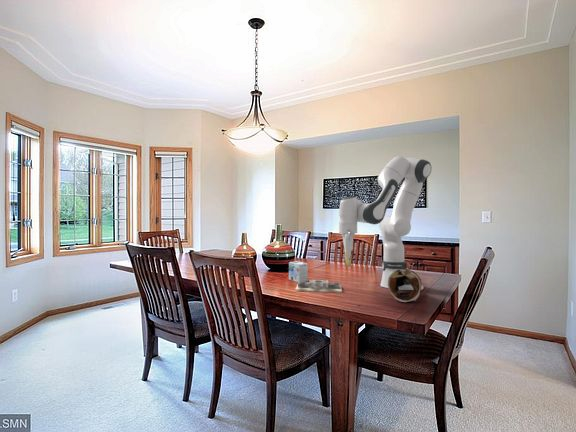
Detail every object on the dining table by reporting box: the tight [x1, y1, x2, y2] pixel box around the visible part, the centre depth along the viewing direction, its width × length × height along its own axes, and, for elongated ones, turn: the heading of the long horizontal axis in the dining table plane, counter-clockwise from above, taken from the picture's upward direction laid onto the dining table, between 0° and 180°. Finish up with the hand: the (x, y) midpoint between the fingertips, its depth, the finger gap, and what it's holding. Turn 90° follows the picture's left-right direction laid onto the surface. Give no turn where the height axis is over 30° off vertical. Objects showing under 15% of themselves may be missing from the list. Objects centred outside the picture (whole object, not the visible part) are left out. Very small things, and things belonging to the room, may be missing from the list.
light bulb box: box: [288, 260, 309, 283], centre depth 204 cm, size 11×7×11 cm, turn 37°
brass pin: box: [344, 249, 352, 267], centre depth 168 cm, size 3×3×10 cm
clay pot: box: [387, 268, 423, 303], centre depth 168 cm, size 15×15×25 cm
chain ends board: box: [294, 279, 343, 294], centre depth 182 cm, size 24×12×4 cm, turn 83°
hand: (348, 257), depth 168 cm, fingers closed on brass pin, 3 cm apart
